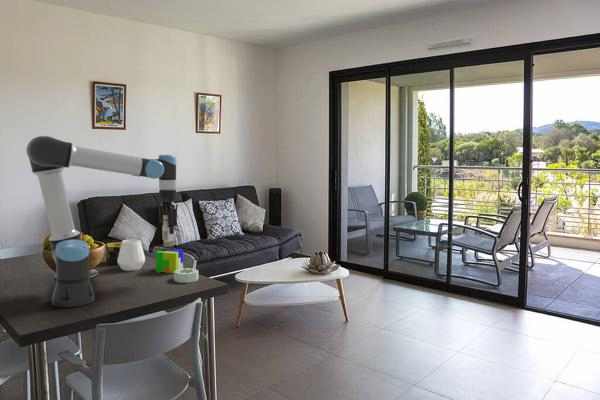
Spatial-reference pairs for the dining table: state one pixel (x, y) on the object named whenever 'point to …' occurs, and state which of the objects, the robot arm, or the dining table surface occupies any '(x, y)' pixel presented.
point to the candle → (112, 253)
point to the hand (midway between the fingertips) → (168, 240)
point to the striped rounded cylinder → (166, 232)
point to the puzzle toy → (169, 260)
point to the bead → (186, 275)
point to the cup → (131, 255)
